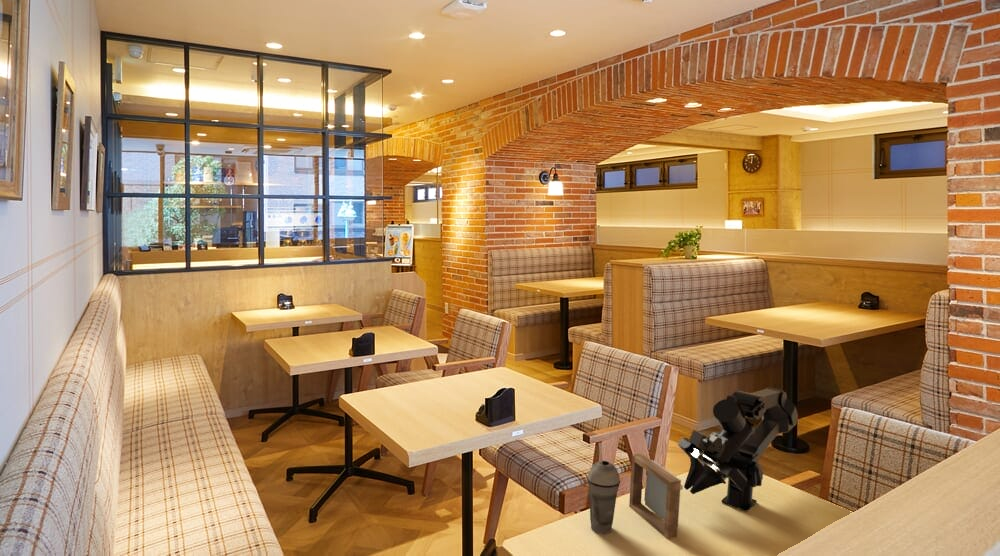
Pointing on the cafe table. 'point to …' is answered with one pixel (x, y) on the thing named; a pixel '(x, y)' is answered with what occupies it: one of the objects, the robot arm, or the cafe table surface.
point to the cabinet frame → (672, 497)
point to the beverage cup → (602, 494)
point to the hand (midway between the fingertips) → (688, 490)
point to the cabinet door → (657, 494)
